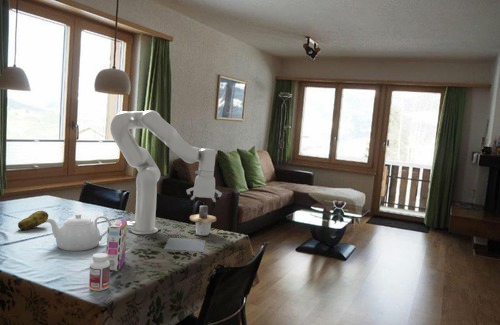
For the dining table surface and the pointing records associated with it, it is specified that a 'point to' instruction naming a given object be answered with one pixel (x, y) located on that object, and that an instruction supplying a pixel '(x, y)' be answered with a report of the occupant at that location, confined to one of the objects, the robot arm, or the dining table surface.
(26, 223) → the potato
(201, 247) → the mat
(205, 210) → the lid
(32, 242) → the dining table surface
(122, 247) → the candy bar box
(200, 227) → the cup
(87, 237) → the teapot
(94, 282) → the pill bottle
